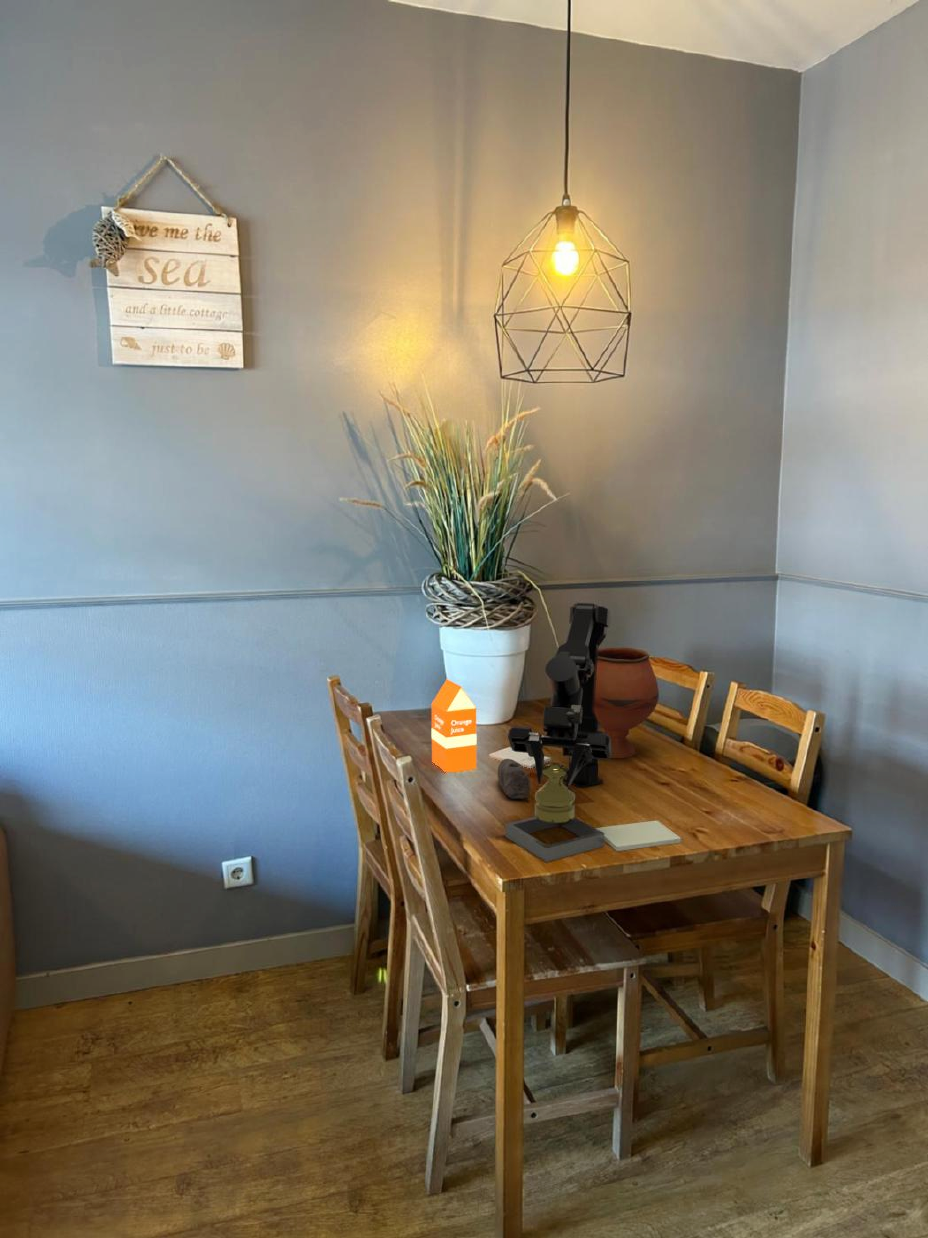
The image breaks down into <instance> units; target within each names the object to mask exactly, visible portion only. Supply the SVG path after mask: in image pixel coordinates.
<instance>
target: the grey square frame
mask: <svg viewBox="0 0 928 1238" xmlns="http://www.w3.org/2000/svg"><path fill="white" fill-rule="evenodd" d="M504 825H505V826H504V837H505V838H506V839H508V840H509V841H511V842H513V843H514V844H516V845H518V846H520V847H521V848H522V849H524V850H526V851H527V852H529V853H531V854H532V855H534V856H535V857H537V858H539V859H540V860H541V861H544V862H545V863H548V862H552V861H556V860H560V859H563V858H567V857H571V856H575V855H579V854H581V853H585V852H589V851H593V850H596V849H601V848H604V847H605V840H604V834H605V833H603V832H601V831H599V830H597V829H595V827H593V826H591V825H589V824H587V823H586V822H584V821H582V820H579V819H578V818H576V817H574V818H573V819H572V820H570V821H568V822H564V823H548V822H544V821H541V820H539V819H538V818H537V817H536V816H532V817H530V818H525V819H524V818H523V819H521V820H516V821H512V822H508V823H504ZM559 826H560V827H561V828H563V829H565V830H567V831H568V832H571V833H572V834H573V835H576V836H578V837H575V838H571V839H567V840H564V841H559V842H555V843H552V844H548V845H547V844H546V843H544V842H542V841H541V840H539V839H537V838H536V837H534V836H532V835H531V834H532V833H536V832H540V831H544V830H548V829H551V828H555V827H559Z"/></svg>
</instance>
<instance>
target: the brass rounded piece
mask: <svg viewBox="0 0 928 1238" xmlns="http://www.w3.org/2000/svg"><path fill="white" fill-rule="evenodd" d="M541 771H542V773H543V776H545V777H546V779H547V781H546V782H545V783H544V784H543V785H542V786H541V787H539V788H538V789H536V790H535V792H534V800H535V801H536V802H535V803H534V817H537V818H538V819H539V820H541V821H544V822H548V823H564V822H568V821H570V820H572V819H573V818H575V807H576V805H575V803H574V802H575V799H576V794H575V792H574V791H573V790H572V789H571V788H569V787H567V785H566V784H565V783H564V782H563V778H564V777H566V776H567V775H568V771H569V767H566V766H564V765H562V764H561V763H560V762H559V763H558V762H551V763H549V764H546V765H545V766H543V768H542V770H541Z"/></svg>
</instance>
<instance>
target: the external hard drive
mask: <svg viewBox="0 0 928 1238" xmlns="http://www.w3.org/2000/svg"><path fill="white" fill-rule="evenodd" d="M490 758H493V759H492V760H494V759H497V760H496V761H498V760H500V761H499V762H501V761H502V760H504V759H511V760H514V761H516V762H518V763H519V764H520V765H521V766H523V768H524V767H527V768H526V769H528V768H530V769H529V770H532V769H534V768H533V767H534V766H536V765H535V760H534V757H530V756H529V755H528V753H523V752H515V751H513V750H512V748H511V746H508V747H505V748H502V749H500V750H497V751H494V752H492V753H489V755H488V759H490ZM550 760H551V761H552V758H551V757H550V756H545V755H544V764H546V763H545V762H547V763H549V762H551V761H550ZM548 761H549V762H548ZM531 768H532V769H531Z"/></svg>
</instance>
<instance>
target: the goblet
mask: <svg viewBox="0 0 928 1238" xmlns="http://www.w3.org/2000/svg"><path fill="white" fill-rule="evenodd" d="M652 666H653V665H652V664H651V661H650V655H649V654H648V653H647V652H646V651H643V650H640V649H636V648H631V647H608V648H607V647H606V648H600V649H599V648H598V662H597V677H596V691H595V706H594V713H595V715H596V717H597V719H598V721H599V723H600V729H603V731H604V732H603V733H607V734H608V735H609V736H610V740H611V746H612V750H611V758H613V759H626V758H630V757H633V756H634V755H635V754H636V750H635V748H634V747H633V745H632V744H631V742H630V741H629V740H628V739H627V736H628V735H629V733H630V732H629V731H630V730H632V729H634V728H636V727H637V726H639V725H641V724H642V723H643V722H644V721H646V720H647V719H648V718H649V717H650V715H652V713H653V712H654V711H655V709H656V707H657V705H658V702H659V696H660V695H659V694H660V691H659V687H658V682H657V681H658V680H657V677H656V674H655V672H654V669H653V667H652Z"/></svg>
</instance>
